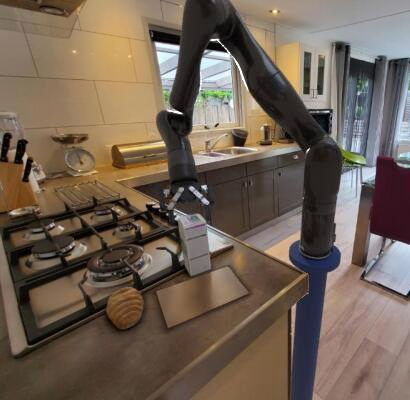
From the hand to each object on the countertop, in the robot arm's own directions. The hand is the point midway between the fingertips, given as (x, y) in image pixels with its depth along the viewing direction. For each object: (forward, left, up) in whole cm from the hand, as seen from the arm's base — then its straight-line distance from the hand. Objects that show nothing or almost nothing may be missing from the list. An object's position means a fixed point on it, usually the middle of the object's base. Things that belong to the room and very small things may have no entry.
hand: (191, 222), depth 66 cm
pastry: (+18, +11, -12) cm, 24 cm away
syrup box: (+1, +4, -12) cm, 13 cm away
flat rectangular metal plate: (+3, +14, -12) cm, 18 cm away
